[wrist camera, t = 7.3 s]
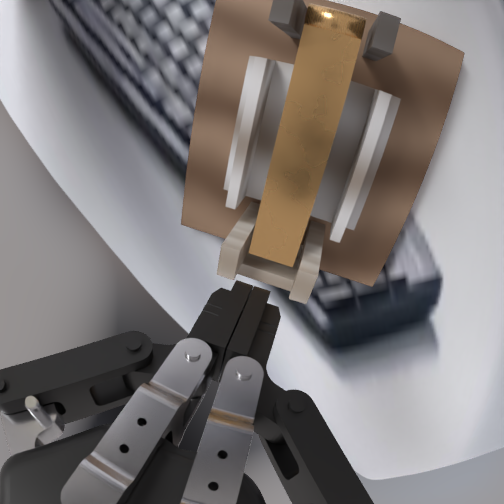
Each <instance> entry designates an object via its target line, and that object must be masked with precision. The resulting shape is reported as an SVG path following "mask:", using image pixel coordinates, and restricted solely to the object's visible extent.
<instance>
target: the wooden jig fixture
mask: <svg viewBox="0 0 504 504" xmlns="http://www.w3.org/2000/svg"><path fill="white" fill-rule="evenodd" d="M310 3H312V4H316V5H321V6H325V7H329V8H333V9H337V10H341V11H344V12H348V13H351V14H355V15H358V16H361V17H365V18H367V19H366V24H365V28H364V32H363V36H362V40H361V43H360V47H359V51H358V55H357V59H356V63H355V66H354V70H353V74H352V78H351V81H350V85H349V89H348V92H347V96H346V99H345V103H344V106H343V110H342V113H341V117H340V120H339V124H338V127H337V131H336V134H335V137H334V141H333V144H332V147H331V151H330V154H329V157H328V161H327V164H326V167H325V170H324V174H323V177H322V180H321V183H320V186H319V189H318V193H317V196H316V199H315V202H314V205H313V208H312V211H311V214H310V217H309V220H308V223H307V227H306V230H305V233H304V236H303V239H302V241H301V244H300V247H299V250H298V253H297V256H296V259H295V262H294V265H293V267H290V266H287V265H284V264H281V263H277V262H274V261H271V260H268V259H265V258H262V257H259V256H256V255H253V254H250V253H249V249H250V245H251V241H252V237H253V232H254V228H255V224H256V220H257V216H258V212H259V208H260V203H261V199H262V195H263V191H264V187H265V183H266V179H267V174H268V170H269V166H270V162H271V158H272V154H273V150H274V146H275V141H276V137H277V133H278V129H279V125H280V121H281V117H282V113H283V109H284V105H285V100H286V96H287V92H288V88H289V84H290V80H291V76H292V72H293V68H294V64H295V60H296V55H297V51H298V47H299V43H300V39H301V35H302V31H303V27H304V21H305V16H306V11H307V8H308V5H309V4H310ZM400 21H401V18H398V17H396V16H393V15H390V14H388V13H385V12H382V11H380V13H379V15H376V14H373V13H370V12H366V11H363V10H360V9H357V8H353V7H350V6H346V5H342V4H339V3H335V2H331V1H327V0H216V3H215V7H214V12H213V16H212V21H211V26H210V30H209V35H208V40H207V45H206V50H205V55H204V61H203V66H202V71H201V77H200V83H199V89H198V95H197V101H196V107H195V113H194V120H193V127H192V134H191V141H190V148H189V156H188V164H187V172H186V181H185V190H184V199H183V209H182V219H181V225H184V226H187V227H190V228H193V229H197V230H200V231H203V232H206V233H209V234H212V235H215V236H218V237H221V238H224V239H225V241H224V242H223V244H222V245H221V251H220V257H219V263H218V269H217V275H220V276H223V277H226V278H228V279H231V280H234V278H235V277H236V275H237V274H240V275H243V276H246V277H249V278H252V279H255V280H258V281H261V282H264V283H267V284H270V285H273V286H276V287H279V288H282V289H285V290H288V291H291V292H290V296H289V299H291V300H295V301H298V302H301V303H304V304H306V303H307V301H308V299H309V296H310V294H311V292H312V289H313V287H314V284H315V282H316V280H317V277H318V273H319V269H320V270H323V271H326V272H329V273H332V274H335V275H338V276H341V277H344V278H347V279H350V280H353V281H356V282H359V283H363V284H366V285H369V286H372V287H373V285H374V283H375V281H376V279H377V277H378V275H379V274H380V272H381V270H382V268H383V266H384V264H385V262H386V260H387V258H388V256H389V254H390V252H391V250H392V248H393V246H394V244H395V242H396V240H397V238H398V235H399V233H400V231H401V229H402V227H403V225H404V223H405V220H406V218H407V216H408V214H409V212H410V209H411V207H412V205H413V203H414V200H415V198H416V196H417V193H418V191H419V188H420V186H421V184H422V181H423V179H424V176H425V174H426V171H427V169H428V166H429V164H430V161H431V158H432V156H433V153H434V150H435V148H436V145H437V142H438V139H439V137H440V134H441V131H442V128H443V125H444V122H445V119H446V116H447V113H448V110H449V107H450V104H451V100H452V97H453V94H454V90H455V87H456V83H457V80H458V76H459V73H460V69H461V65H462V61H463V57H464V52H462V51H460V50H458V49H456V48H454V47H452V46H450V45H448V44H446V43H444V42H442V41H440V40H438V39H436V38H434V37H432V36H429V35H427V34H425V33H423V32H420V31H418V30H416V29H413V28H411V27H408V26H406V25H403V24H401V23H400Z"/></svg>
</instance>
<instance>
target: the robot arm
mask: <svg viewBox="0 0 504 504" xmlns="http://www.w3.org/2000/svg"><path fill="white" fill-rule="evenodd" d="M252 289H253V290H252ZM269 295H270V291H268V290H265V289H262V288H259V287H256V286H254V287H253V286H252V285H249V284H246V283H243V282H241V281H238V280H237V281H236V282H235V284H234V286H233V288H232V290H231V291H229V290H226V289H223V288H220V289H218V290H217V291H215V292H214V293H212V295H211V296H210V298H209V300H208V302H207V304H206V305H205V307H204V309H203V311H202V312H201V314H200V316H199V317H198V319H197V321H196V323H195V324H194V326H193V328H192V330H191V331H190V333H189V335H188V337H187V338H186V339H184V340H181V341H180V342H178V343H177V344H174V345H162V344H154V343H152V342H151V340H150V338H149V337H148V336H147V335H146V334H144V333H141V332H138V331H129V332H125V333H122V334H119V335H116V336H113V337H109V338H107V339H103V340H100V341H97V342H93V343H90V344H87V345H84V346H81V347H77V348H74V349H71V350H67V351H64V352H61V353H57V354H54V355H50V356H47V357H44V358H40V359H37V360H33V361H30V362H26V363H23V364H19V365H16V366H12V367H8V368H5V369H1V370H0V415H1V419H2V424H3V428H4V432H5V436H6V440H7V444H8V447H9V451H10V454H11V457H10V458H9V459H7V461H6V462H5V463H4V465H3V467H2V469H1V472H0V504H266V503H265V501H264V498H263V496H262V494H261V492H260V490H259V489H258V487H257V486H256V484H255V483H254V481H253V480H252V479H251V478H250V477H249V476H248V475H246V474H245V473H244V469H245V465H246V461H247V457H248V453H249V449H250V444H251V440H252V436H253V431H254V432H256V433H257V434H259V438H260V440H261V442H262V444H263V446H264V449H265V450H266V453H267V455H268V457H269V459H270V461H271V463H272V465H273V467H274V469H275V471H276V473H277V475H278V477H279V478H280V481H281V483H282V485H283V486H284V489H285V490H286V492H287V494H288V496H289V498H290V500H291V502H292V504H374V503H373V501H372V500H371V498H370V496H369V495H368V493H367V491H366V490H365V488H364V486H363V485H362V483H361V481H360V480H359V478H358V476H357V475H356V473H355V471H354V470H353V468H352V466H351V465H350V463H349V461H348V460H347V458H346V456H345V455H344V453H343V451H342V449H341V448H340V446H339V444H338V443H337V441H336V439H335V438H334V436H333V434H332V432H331V431H330V429H329V427H328V426H327V424H326V422H325V421H324V419H323V417H322V415H321V414H320V412H319V410H318V408H317V407H316V405H315V403H314V402H313V400H312V399H311V397H310V396H309V395H307V394H306V393H304V392H302V391H299V390H288V391H285V390H283V389H282V388H280V387H279V386H277V385H276V384H275V383H274V382H273V381H272V380H271V379H270V378H269V376H268V374H267V370H266V365H267V361H268V358H269V354H270V351H271V348H272V345H273V341H274V338H275V335H276V331H277V328H278V325H279V321H280V318H281V316H280V312H279V307H277V306H274V305H271V304H268V303H267V301H268V298H269ZM220 375H221V376H220ZM219 377H220V380H219V382H220V385H219V388H218V391H217V394H216V398H215V401H214V404H213V407H212V410H211V412H210V415H209V417H208V421H207V423H206V427H205V430H204V433H203V436H202V439H201V442H200V445H199V448H198V451H197V452H195V451H188V450H182V449H180V448H178V446H179V444H180V442H181V439H182V437H183V434H184V432H185V429H186V428H187V426H188V424H189V422H190V421H191V419H192V417H193V415H194V414H195V412H196V410H197V408H198V406H199V405H200V403H201V401H202V399H203V397H204V396H205V393H206V391H207V389H208V387H209V385H210V383H211V380H214V381H218V379H219ZM126 403H127V404H126ZM123 404H126V406H125V407H124V409H123V410H122V412H121V413H120V414H119V416H118V417H117V418H116V420H115V421H114V423H113V424H105V425H100V426H97V427H94V428H92V429H89V430H86V431H84V432H81V433H78V434H75V435H72V436H70V437H67V438H64V439H61V440H58V441H55V442H52V443H50V442H51V441H53V440H55V439H57V438H58V437H60V436H61V435H62V433H63V431H64V428H65V424H67V423H70V422H73V421H76V420H79V419H83V418H86V417H88V416H92V415H95V414H97V413H101V412H104V411H106V410H109V409H112V408H115V407H118V406H121V405H123Z"/></svg>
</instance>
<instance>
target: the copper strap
mask: <svg viewBox="0 0 504 504" xmlns="http://www.w3.org/2000/svg"><path fill="white" fill-rule="evenodd" d="M366 19H367V18H365V17H361V16H358V15H355V14H351V13H348V12H344V11H341V10H337V9H333V8H329V7H325V6H321V5H316V4H312V3H310V4H309V5H308V8H307V11H306V16H305V21H304V27H303V31H302V35H301V39H300V43H299V47H298V51H297V55H296V60H295V64H294V68H293V72H292V76H291V80H290V84H289V88H288V92H287V96H286V100H285V105H284V109H283V113H282V117H281V121H280V125H279V129H278V133H277V137H276V141H275V146H274V150H273V154H272V158H271V162H270V166H269V170H268V174H267V179H266V183H265V187H264V191H263V195H262V199H261V203H260V208H259V212H258V216H257V220H256V224H255V228H254V232H253V237H252V241H251V245H250V249H249V253H250V254H253V255H256V256H259V257H262V258H265V259H268V260H271V261H274V262H277V263H281V264H284V265H287V266H290V267H293V265H294V262H295V259H296V256H297V253H298V250H299V247H300V244H301V241H302V239H303V236H304V233H305V230H306V227H307V223H308V220H309V217H310V214H311V211H312V208H313V205H314V202H315V199H316V196H317V193H318V189H319V186H320V183H321V180H322V177H323V174H324V170H325V167H326V164H327V161H328V157H329V154H330V151H331V147H332V144H333V141H334V137H335V134H336V131H337V127H338V124H339V120H340V117H341V113H342V110H343V106H344V103H345V99H346V96H347V92H348V89H349V85H350V81H351V78H352V74H353V70H354V66H355V63H356V59H357V55H358V51H359V47H360V43H361V40H362V36H363V32H364V28H365V24H366Z"/></svg>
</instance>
